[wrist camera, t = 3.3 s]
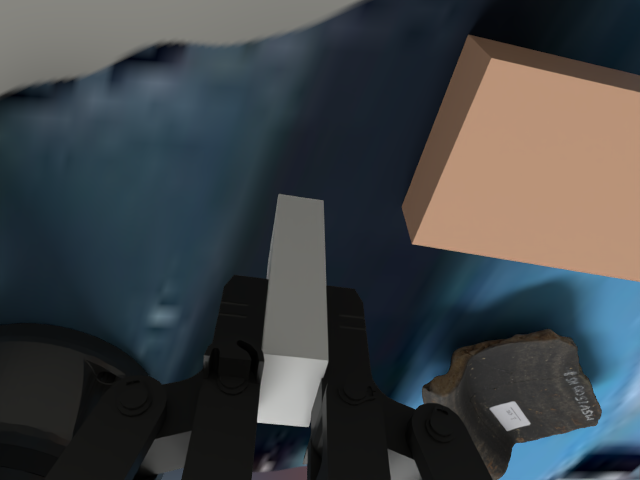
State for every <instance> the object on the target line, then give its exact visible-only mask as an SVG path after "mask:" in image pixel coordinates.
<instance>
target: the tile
mask: <svg viewBox="0 0 640 480" xmlns="http://www.w3.org/2000/svg"><path fill="white" fill-rule="evenodd" d="M402 210H403V213H404V217H405V220H406V224H407V228H408V231H409V235H410V238H411V242H412V244H415V245H422V246H428V247H434V248H440V249H446V250H452V251H458V252H464V253H470V254H476V255H482V256H488V257H494V258H500V259H506V260H512V261H518V262H524V263H530V264H536V265H542V266H548V267H554V268H560V269H566V270H572V271H578V272H584V273H590V274H596V275H602V276H608V277H614V278H620V279H626V280H632V281H638V282H640V75H636V74H632V73H628V72H624V71H619V70H615V69H611V68H607V67H603V66H598V65H594V64H590V63H586V62H582V61H577V60H573V59H569V58H565V57H561V56H556V55H552V54H548V53H544V52H540V51H536V50H531V49H527V48H523V47H519V46H515V45H510V44H506V43H502V42H498V41H494V40H489V39H485V38H481V37H477V36H473V35H468V37H467V39H466V42H465V44H464V47H463V50H462V52H461V55H460V57H459V60H458V63H457V65H456V68H455V70H454V73H453V75H452V78H451V81H450V83H449V86H448V88H447V91H446V94H445V96H444V99H443V101H442V104H441V107H440V109H439V112H438V114H437V117H436V119H435V122H434V125H433V127H432V130H431V132H430V135H429V138H428V140H427V143H426V145H425V148H424V151H423V153H422V156H421V158H420V161H419V163H418V166H417V169H416V171H415V174H414V176H413V179H412V182H411V184H410V187H409V189H408V192H407V195H406V197H405V200H404V202H403V205H402Z"/></svg>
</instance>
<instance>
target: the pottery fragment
mask: <svg viewBox="0 0 640 480" xmlns="http://www.w3.org/2000/svg"><path fill="white" fill-rule="evenodd" d="M577 351H578V348H577V346H576V344H575V343H574V342H573V340H572V338H570V337H562V336H559V335H557V334H556V333H554V332H553V331H552V330H551V329H545V330H541V331H537V332H533V333H530V334H523V335H520V334H517V335H514V336H513V337H511V338H508V339H499V340H489V341H485V342H481V343H478V344H475V345H471V346H465V347H461V348H458V349H457V350H455V351H454V352H453V354H452V358H451V365H450V368H449V371H448V373H447V374H445V375H442V376H436V377H435V378H434V379H433V380H432V381H430V382H429V383H427V384H425V385H424V386H423V388H422V397H423V402H424V404H426V403H438V404H441V405H443V406H446V407H448V408H450V409H451V410H452V411H453V412H455V413H456V414H457V415H458V416H459V417H460V419H461V420H462V422H463V423H464V424H465V426H466V428H467V430H468V432H469V434H470V436H471V438H472V440H473V442H474V444H475V446H476V448H477V450H478V452H479V454H480V456H481V458H482V460H483V461H484V463H485V465H486V467H487V469H488V471H489V473H490V475H491V477H492V479H493V480H498V479H499V478H500V477H502V476H503V475H504V474H505V472H506V470H507V467H508V463H509V461H510V457H511V452H512V447H513V446H514V444H515V443H524V442H527V441H533V440H537V439H540V438H544V437H548V436H552V435H557V434H563V433H567V432H570V431H572V430H576V429H579V428H586V427H590V426H596V425H597V424H598V420H599V419H600V417H601V413H602V410H601V408H600V405H599V402H598V401H597V399H596V396H595V395H594V393H593V388H592V386H591V383H590V381H589V379H588V377H587V376H586V375H585V374H584V373H583V372H582V368H581V366H580V364H579V357H578V354H577Z"/></svg>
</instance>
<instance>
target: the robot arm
mask: <svg viewBox="0 0 640 480" xmlns="http://www.w3.org/2000/svg"><path fill="white" fill-rule="evenodd" d="M365 330H366V326H365V319H364V308H363V302H362V300H361V299H360V297H359V295H358V294H357V292H356V291H355V289H350V288H342V287H334V286H326V266H325V235H324V204H323V201H322V200H315V199H308V198H302V197H295V196H288V195H281V194H279V195H278V201H277V208H276V214H275V221H274V227H273V234H272V240H271V247H270V254H269V261H268V270H267V279H262V278H254V277H246V276H238V275H234V276H233V277H232V278H231V279H230V281H229V282H228V283H227V284H226V285H225V286H224V290H223V295H222V300H221V305H220V309H219V315H218V319H217V324H216V328H215V333H214V338H213V343H212V344H211V345H210V346H208V348H207V350H206V352H205V354H204V365H203V369H202V370H201V371H200V372H199V373H198V374H196V375H195V376H193V377H191V378H189V379H186V380H183V381H179V382H174V383H169V384H164V385H161V383H160V382H159V381H157V380H155V379H154V378H152V377H150V376H148V374H147V373H146V372H145V370H144V369H143V368H142V367H141V366H140V365H139V364H138V363H137V362H136V361H135V360H134V359H133V358H132V357H130V356H129V355H128V354H126V353H125V352H123V351H122V350H120V349H119V348H117V347H115V346H114V345H112V344H110V343H108V342H106V341H104V340H102V339H99V338H97V337H95V336H92V335H89V334H87V333H84V332H80V331H77V330H73V329H70V328H65V327H60V326H55V325H48V324H37V323H16V324H6V325H0V480H161V479H162V477H163V474H164V473H165V472H168V471H172V470H176V469H180V468H184V470H183V475H182V479H181V480H251V478H252V468H253V458H254V448H255V437H256V427H257V422H258V423H269V424H280V425H292V426H303V427H309V424H310V420H311V437H310V440H309V443H308V447H307V450H306V453H305V456H304V461H303V464H306V465H307V480H493V479H492V477H491V475H490V473H489V471H488V469H487V467H486V465H485V463H484V461H483V460H482V458H481V456H480V454H479V452H478V450H477V448H476V446H475V444H474V442H473V440H472V438H471V436H470V434H469V432H468V430H467V428H466V426H465V424H464V423H463V422H462V420H461V419H460V417H459V416H458V415H457V414H456V413H455V412H453V411H452V410H451V409H450V408H448V407H446V406H443V405H441V404H438V403H426V404H423V405H420V406H419V407H418V408H417V409H416V410H415V409H413V408H410V407H408V406H406V405H403V404H401V403H398V402H396V401H394V400H392V399H390V398H388V397H387V396H386V395H385V394H383V393H382V392H381V391H380V390H379V388H378V387H377V385H376V384H375V382H374V381H373V379H372V375H371V369H370V360H369V352H368V343H367V334H366V331H365Z"/></svg>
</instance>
